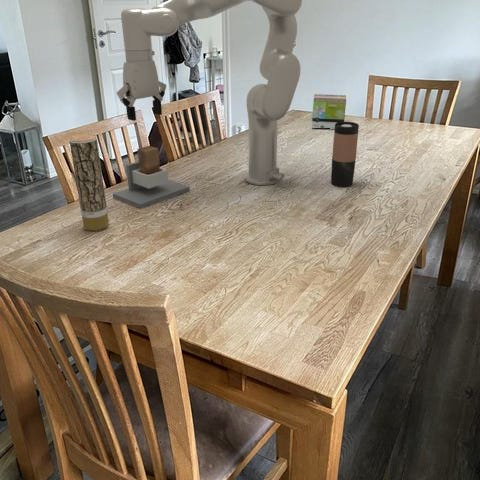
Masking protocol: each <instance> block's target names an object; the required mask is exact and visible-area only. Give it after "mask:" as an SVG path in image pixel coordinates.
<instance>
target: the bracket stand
mask: <svg viewBox="0 0 480 480" xmlns="http://www.w3.org/2000/svg"><path fill="white" fill-rule="evenodd" d="M125 166H126V167H125V168H126V174H127V183H128V187H127V188H125V189H121V190H118V191H116V192H113V193H112V198H113V199H115V200H118V201H121V202H122V203H125V204H127V205H131V207H135V208H137V209H140V210H141V209H144V208H147V207H149V206H152V205H154V204H155V205H156V204H158V203H160V202H163V201H167V200H168V199H171V198H174V197H177V196H180V195H183V194H186V193H188V192H190V191H191V190H190V186H189V185H186V184H182V183H181V182H176V181H173V180H170V179H169V171H168V169H167V168H162V167H160V172H156V173H153V174H150V175H146V174H143V173H140V169H139V160H137V161H135V162H132V163H128V164H126V165H125Z"/></svg>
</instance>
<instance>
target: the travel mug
mask: <svg viewBox="0 0 480 480" xmlns="http://www.w3.org/2000/svg"><path fill="white" fill-rule="evenodd" d="M359 127H360V126H359V124H358V123H356V122H352V121H344V122H338V123H336V124H335V130H333V131H334V132H333V144H332V155H331V171H330V173H331V177H330V178H331V179H330V183H331V185H332V186H334V187H336V186H337V188H349V187H351V186H353V183H354V177H355V169H356V168H355V167H356V162H357V161H356V159H357V148H358V139H359V138H358V137H359V129H360V128H359Z"/></svg>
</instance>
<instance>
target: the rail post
mask: <svg viewBox="0 0 480 480" xmlns="http://www.w3.org/2000/svg"><path fill="white" fill-rule="evenodd" d="M159 153H160V152H159V148H158V147H154V146H152V145H147V146H144V147H143V146H142V147H140V148H139V147H138V148H137V159H138V161H139V169H140V173H143V174H146V175H150V174H153V173H156V172H160V168H161V167H160V155H159Z"/></svg>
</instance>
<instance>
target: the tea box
mask: <svg viewBox="0 0 480 480" xmlns="http://www.w3.org/2000/svg"><path fill="white" fill-rule="evenodd" d="M346 106H347V96H346V95H345V94H339V95H338V94H322V93H321V94H319V93H318V94H317V93H315V94H314V97H313V106H312V117H311V129H312V128H331V129H330V130H332V129H335V124H336V123H338V122H345V119H346V118H345V116H346Z"/></svg>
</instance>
